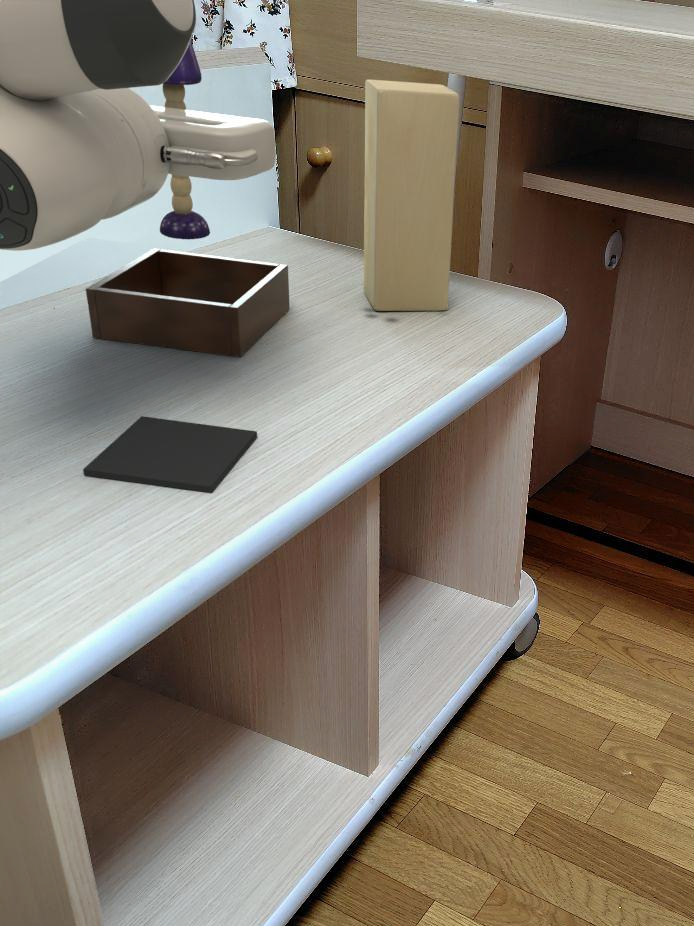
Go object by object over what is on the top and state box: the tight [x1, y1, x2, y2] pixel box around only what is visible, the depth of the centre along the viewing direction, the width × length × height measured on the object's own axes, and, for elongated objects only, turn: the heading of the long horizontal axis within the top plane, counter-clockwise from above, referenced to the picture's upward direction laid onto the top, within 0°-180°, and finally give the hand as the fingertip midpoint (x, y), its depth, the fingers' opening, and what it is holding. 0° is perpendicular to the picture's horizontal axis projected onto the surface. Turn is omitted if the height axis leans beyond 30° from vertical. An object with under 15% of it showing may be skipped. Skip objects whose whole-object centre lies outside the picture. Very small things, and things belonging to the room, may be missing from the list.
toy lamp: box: [159, 40, 211, 240], centre depth 83 cm, size 5×5×17 cm
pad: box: [82, 415, 258, 493], centre depth 71 cm, size 9×9×1 cm
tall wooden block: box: [363, 78, 460, 312], centre depth 100 cm, size 8×7×21 cm
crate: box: [85, 248, 291, 358], centre depth 93 cm, size 14×14×4 cm
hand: (180, 119), depth 84 cm, fingers closed on toy lamp
